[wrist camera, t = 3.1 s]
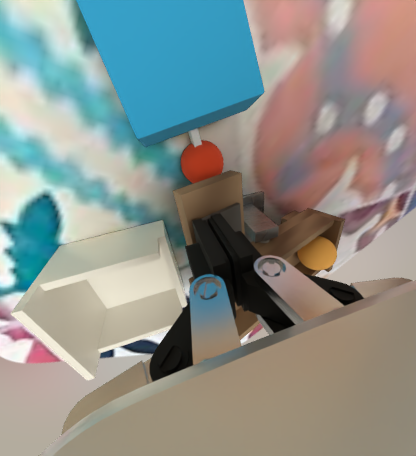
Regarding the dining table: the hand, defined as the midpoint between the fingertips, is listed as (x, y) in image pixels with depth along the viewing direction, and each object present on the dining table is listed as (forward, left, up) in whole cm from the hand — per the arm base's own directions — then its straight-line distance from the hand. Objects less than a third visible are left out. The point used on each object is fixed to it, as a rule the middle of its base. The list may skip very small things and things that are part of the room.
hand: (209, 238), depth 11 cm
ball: (-10, +6, -2) cm, 12 cm away
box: (+7, +6, -8) cm, 13 cm away
